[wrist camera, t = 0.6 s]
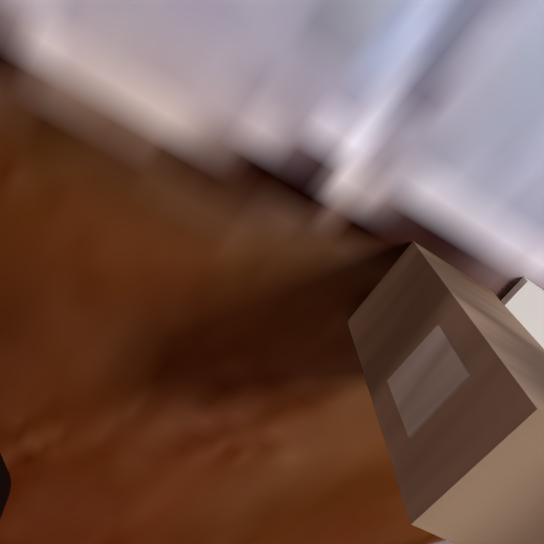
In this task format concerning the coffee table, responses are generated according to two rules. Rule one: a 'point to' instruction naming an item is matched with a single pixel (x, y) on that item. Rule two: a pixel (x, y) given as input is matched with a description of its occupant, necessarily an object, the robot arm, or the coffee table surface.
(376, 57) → the coffee table surface
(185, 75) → the coffee table surface
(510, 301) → the felt mat
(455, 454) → the cardboard box
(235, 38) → the coffee table surface
